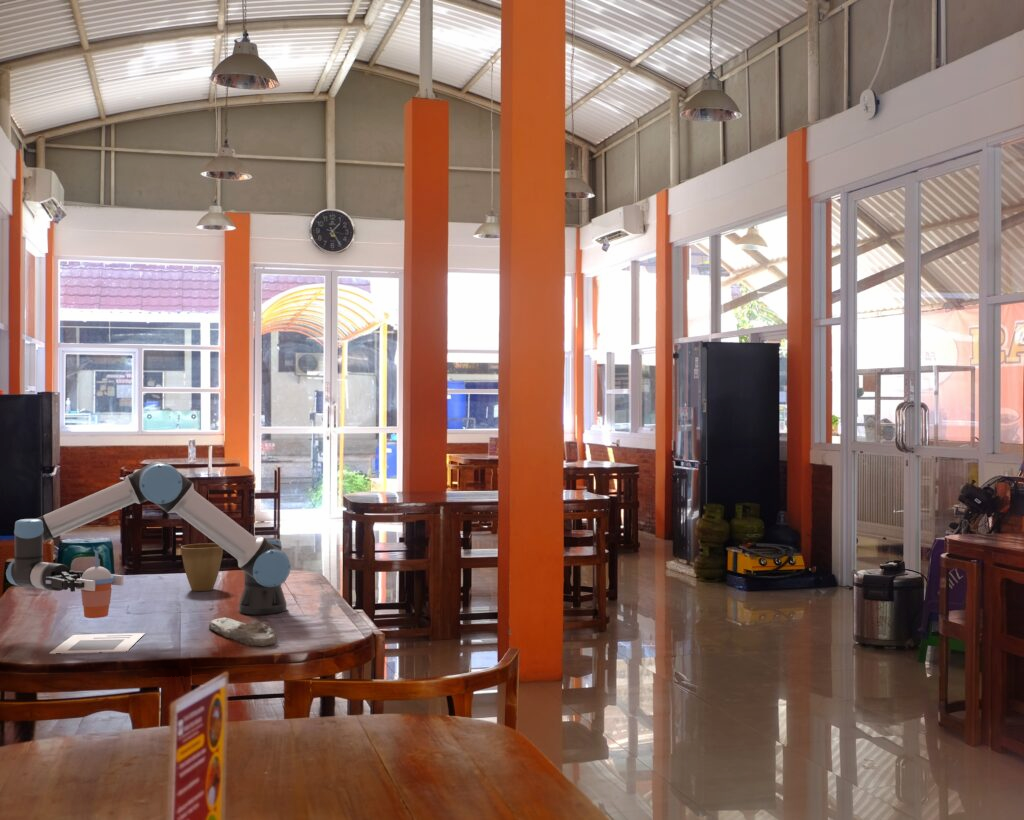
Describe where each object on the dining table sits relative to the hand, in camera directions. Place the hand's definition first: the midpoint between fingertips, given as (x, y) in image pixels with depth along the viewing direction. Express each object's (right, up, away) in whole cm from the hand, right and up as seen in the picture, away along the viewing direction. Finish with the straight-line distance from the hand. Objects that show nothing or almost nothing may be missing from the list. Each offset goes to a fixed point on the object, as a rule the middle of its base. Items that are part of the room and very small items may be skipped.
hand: (108, 583), depth 287 cm
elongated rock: (+33, -18, +15) cm, 41 cm away
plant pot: (-1, -18, +90) cm, 92 cm away
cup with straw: (-4, -10, +2) cm, 11 cm away
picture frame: (-4, -18, +5) cm, 19 cm away
